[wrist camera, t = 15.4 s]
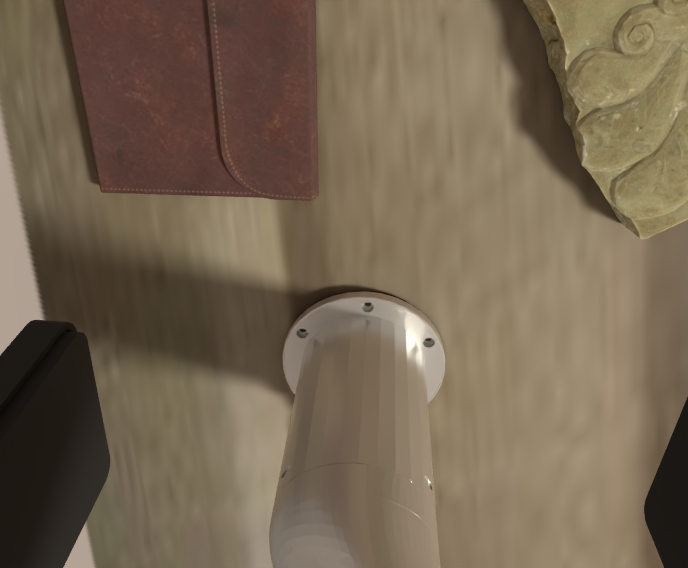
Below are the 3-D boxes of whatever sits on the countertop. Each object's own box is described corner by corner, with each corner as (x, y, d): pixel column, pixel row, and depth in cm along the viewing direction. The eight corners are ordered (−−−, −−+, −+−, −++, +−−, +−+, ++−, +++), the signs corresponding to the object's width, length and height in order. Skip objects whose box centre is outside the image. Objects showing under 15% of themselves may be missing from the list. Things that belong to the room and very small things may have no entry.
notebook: (106, 183, 45) (94, 194, 44) (40, -157, 35) (22, -160, 34) (319, 190, 45) (316, 201, 43) (314, -156, 35) (310, -159, 33)
